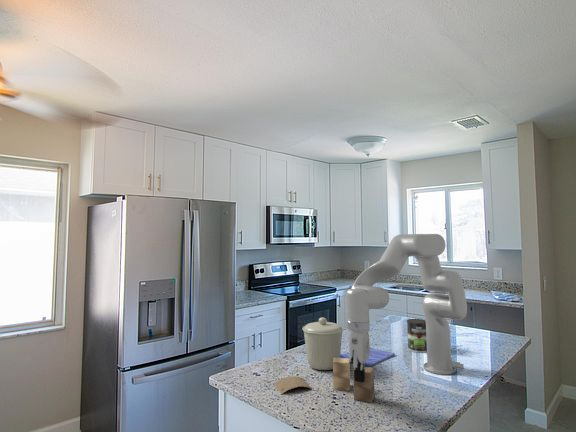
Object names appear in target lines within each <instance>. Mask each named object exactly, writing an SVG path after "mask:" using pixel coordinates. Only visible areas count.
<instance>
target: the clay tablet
mask: <svg viewBox="0 0 576 432" xmlns="http://www.w3.org/2000/svg"><path fill="white" fill-rule="evenodd" d="M309 385H310V384H309V383H308V382H307V381H306V380H305V378H303V377H300V376H295V375H294V376H287V377H286V376H285V377H283V378H280V379H278V381H276V382H274V384H273V386H275V388H276V389H277V391H278V392H280V393H281V394H280V393H279V394H280V395H283V394H284V393H286V392H287V391H289V390H291V389H295V388H298V387H301V388H303V387H304V388H309V389H310V390H312V389H313V387H310V386H311V385H310V386H309Z"/></svg>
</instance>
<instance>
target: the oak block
mask: <svg viewBox="0 0 576 432" xmlns="http://www.w3.org/2000/svg"><path fill="white" fill-rule="evenodd" d="M350 367H351V363H350V359H349V358H334V359H333V369H332V375H333V376H332V380H333V383H332V384H333V388H332V389H333V390H336V391H347V392H348V391H351V368H350Z"/></svg>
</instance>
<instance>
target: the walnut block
mask: <svg viewBox="0 0 576 432" xmlns="http://www.w3.org/2000/svg"><path fill="white" fill-rule="evenodd" d="M363 369H365V381H364V382H356V381H355V380H354V369H353V371H352V374H353V400H354V401H355V400H356V401H361V402H364V403H372V402H373V401H374V398H375V396H376V395H375V368H374V367H371V366H370V367H364V368H363Z"/></svg>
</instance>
